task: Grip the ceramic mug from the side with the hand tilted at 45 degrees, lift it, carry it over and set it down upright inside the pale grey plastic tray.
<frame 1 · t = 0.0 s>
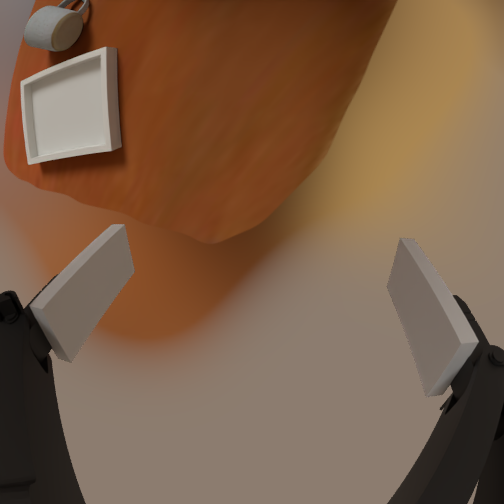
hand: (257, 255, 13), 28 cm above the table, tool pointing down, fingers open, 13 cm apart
tray: (70, 108, 36), on the table
ceramic mug: (71, 23, 28), on the table
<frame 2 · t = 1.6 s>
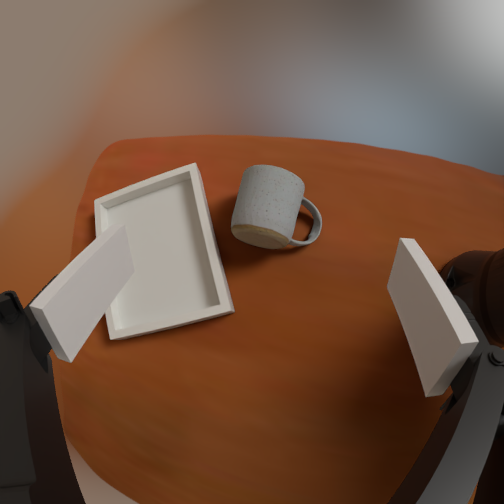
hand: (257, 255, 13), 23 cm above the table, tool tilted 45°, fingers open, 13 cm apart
tray: (158, 253, 38), on the table
ceramic mug: (278, 221, 38), on the table
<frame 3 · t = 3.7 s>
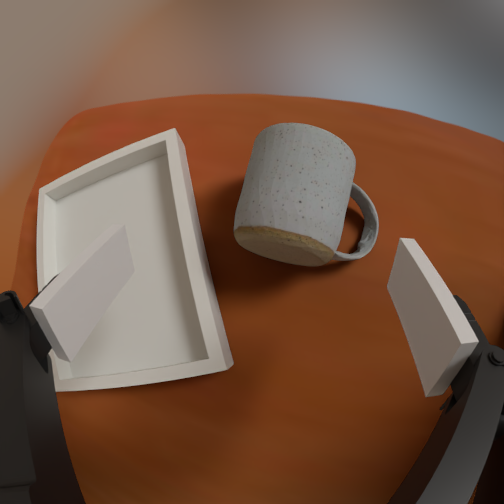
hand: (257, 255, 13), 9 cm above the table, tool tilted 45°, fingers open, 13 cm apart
tray: (119, 267, 24), on the table
ceramic mug: (309, 219, 24), on the table
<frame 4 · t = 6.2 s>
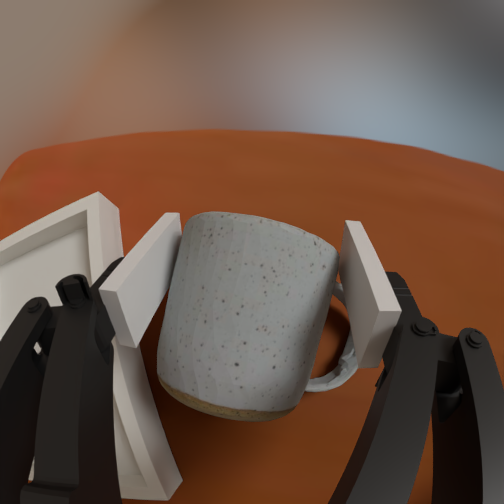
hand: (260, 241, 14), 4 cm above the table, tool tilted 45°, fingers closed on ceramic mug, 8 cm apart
tray: (55, 360, 17), on the table
ceramic mug: (273, 323, 17), on the table, touching gripper
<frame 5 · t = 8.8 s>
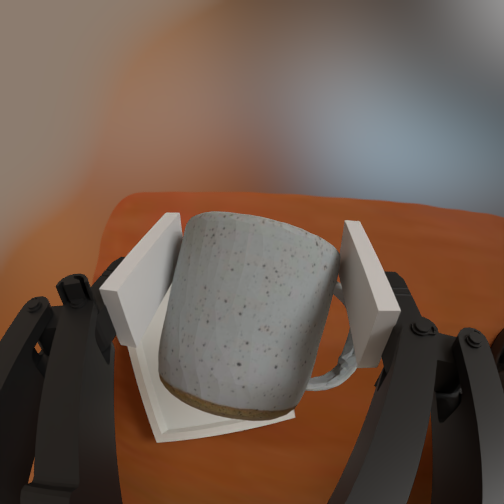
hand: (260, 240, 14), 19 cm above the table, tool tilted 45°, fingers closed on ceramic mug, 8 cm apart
tray: (202, 347, 32), on the table
ceramic mug: (274, 322, 17), point 15 cm above the table, touching gripper
when the fingers open (6 cm above the table, at t = 11.9 s): ceramic mug drops 1 cm, resting on tray.
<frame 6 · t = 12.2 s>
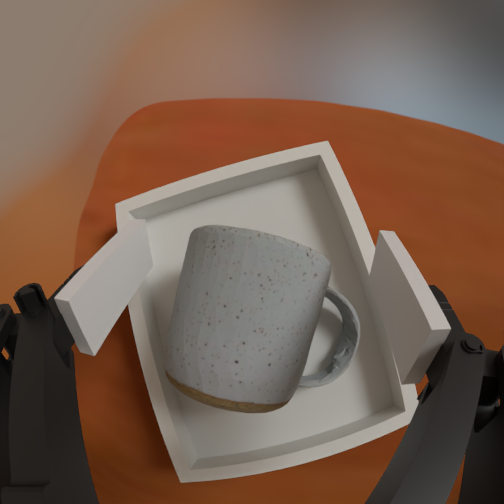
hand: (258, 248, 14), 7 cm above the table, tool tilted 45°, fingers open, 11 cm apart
tray: (261, 315, 20), on the table
ceramic mug: (271, 323, 19), point 1 cm above the table, touching tray
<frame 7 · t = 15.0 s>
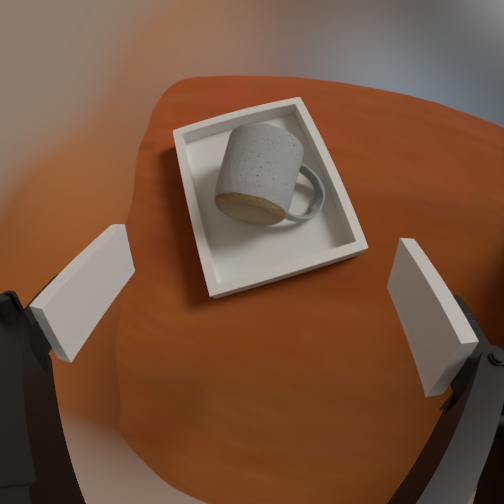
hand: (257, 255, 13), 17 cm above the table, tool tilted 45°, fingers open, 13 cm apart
tray: (262, 191, 32), on the table
ceramic mug: (272, 193, 31), point 1 cm above the table, touching tray
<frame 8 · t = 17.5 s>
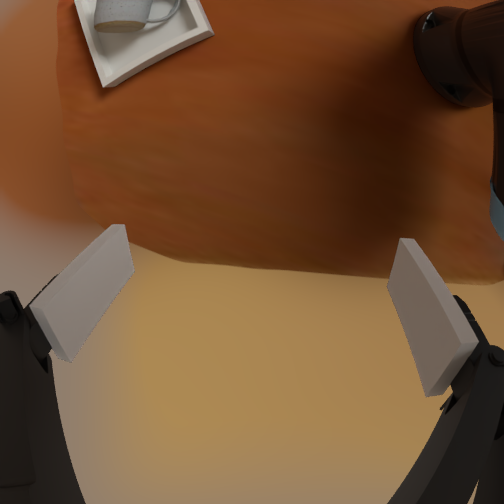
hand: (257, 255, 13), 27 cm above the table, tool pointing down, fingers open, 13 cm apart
tray: (139, 7, 27), on the table
ceramic mug: (146, 6, 26), point 1 cm above the table, touching tray
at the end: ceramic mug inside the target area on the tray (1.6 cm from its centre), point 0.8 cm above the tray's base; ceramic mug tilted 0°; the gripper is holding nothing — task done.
